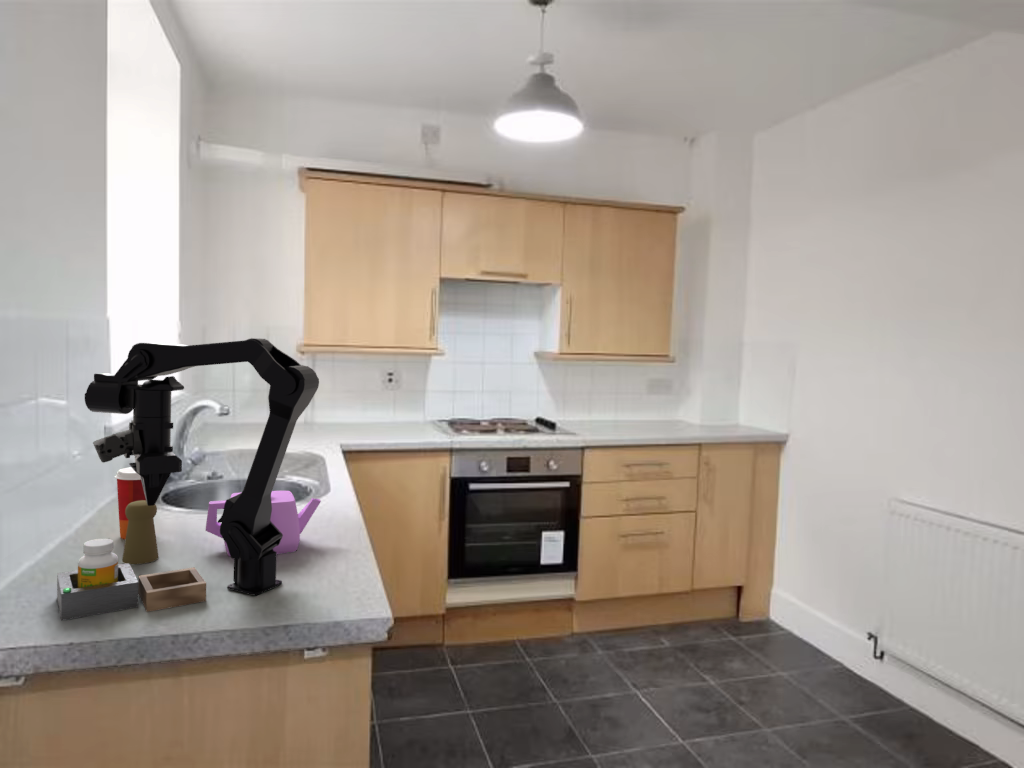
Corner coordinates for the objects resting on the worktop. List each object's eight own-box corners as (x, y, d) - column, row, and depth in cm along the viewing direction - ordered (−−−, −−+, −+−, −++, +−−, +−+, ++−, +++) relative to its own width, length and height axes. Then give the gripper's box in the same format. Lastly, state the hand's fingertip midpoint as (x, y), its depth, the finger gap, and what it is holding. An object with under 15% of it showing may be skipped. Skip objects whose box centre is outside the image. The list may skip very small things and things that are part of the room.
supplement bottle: (74, 611, 102) (74, 548, 101) (81, 598, 107) (81, 538, 106) (114, 607, 104) (115, 546, 103) (119, 594, 109) (120, 536, 108)
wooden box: (194, 584, 115) (194, 567, 115) (205, 601, 108) (206, 583, 108) (138, 593, 110) (138, 575, 109) (146, 611, 103) (147, 592, 103)
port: (128, 586, 112) (129, 560, 112) (138, 606, 104) (138, 579, 104) (57, 597, 106) (57, 570, 106) (61, 620, 98) (61, 591, 98)
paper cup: (159, 529, 144) (160, 465, 143) (152, 540, 137) (153, 473, 136) (118, 531, 141) (119, 466, 140) (109, 542, 134) (110, 473, 133)
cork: (117, 557, 126) (118, 500, 125) (152, 551, 130) (153, 496, 129) (127, 566, 121) (128, 507, 121) (163, 560, 126) (164, 502, 125)
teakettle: (197, 551, 132) (198, 490, 131) (257, 530, 148) (258, 475, 147) (267, 565, 126) (269, 501, 125) (322, 541, 142) (324, 484, 141)
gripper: (91, 410, 117) (90, 498, 118) (103, 424, 102) (102, 524, 103) (162, 409, 124) (160, 492, 125) (183, 422, 109) (181, 516, 110)
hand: (150, 505), depth 115 cm, fingers closed
